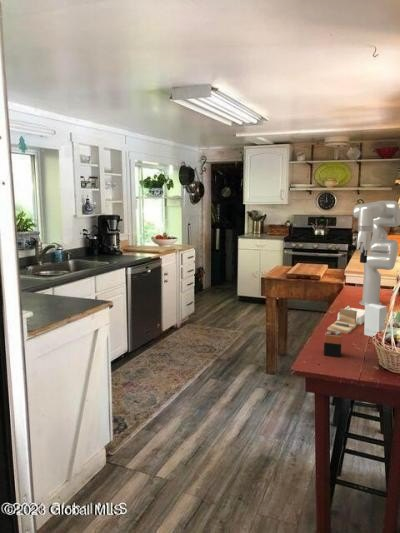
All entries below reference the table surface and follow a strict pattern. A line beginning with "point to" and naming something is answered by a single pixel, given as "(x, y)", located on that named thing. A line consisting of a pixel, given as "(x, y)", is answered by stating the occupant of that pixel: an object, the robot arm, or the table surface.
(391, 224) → the robot arm
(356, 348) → the table surface
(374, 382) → the table surface
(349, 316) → the lid
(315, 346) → the table surface
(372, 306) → the skincare box
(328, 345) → the battery
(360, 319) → the box
